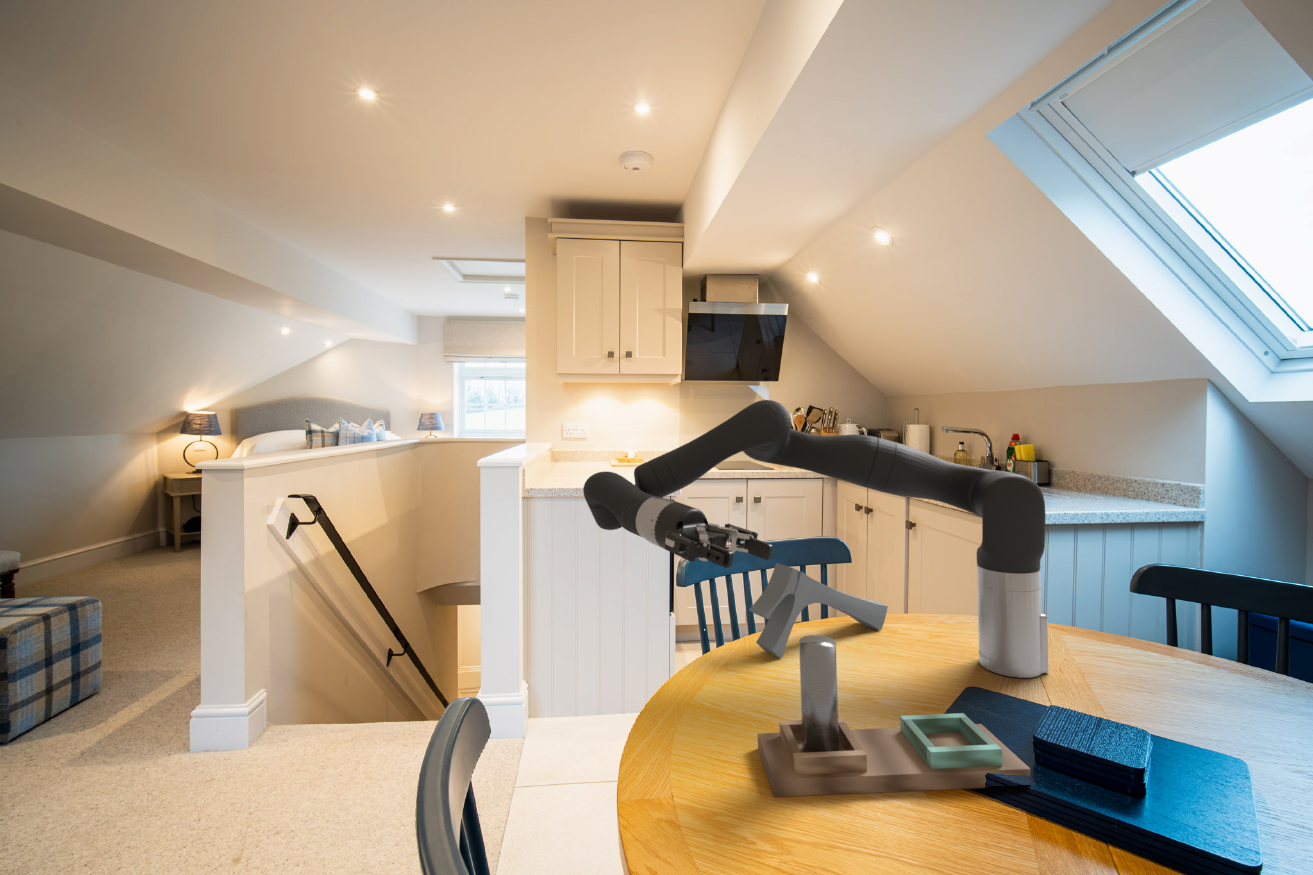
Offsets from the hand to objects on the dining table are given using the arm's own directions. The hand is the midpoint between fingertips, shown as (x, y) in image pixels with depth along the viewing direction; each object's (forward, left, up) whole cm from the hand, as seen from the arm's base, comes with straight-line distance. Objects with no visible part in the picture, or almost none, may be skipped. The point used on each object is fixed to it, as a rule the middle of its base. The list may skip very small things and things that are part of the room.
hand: (751, 556), depth 78 cm
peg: (-7, +7, -23) cm, 25 cm away
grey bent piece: (-19, -34, -26) cm, 47 cm away
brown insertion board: (-15, +7, -25) cm, 30 cm away
